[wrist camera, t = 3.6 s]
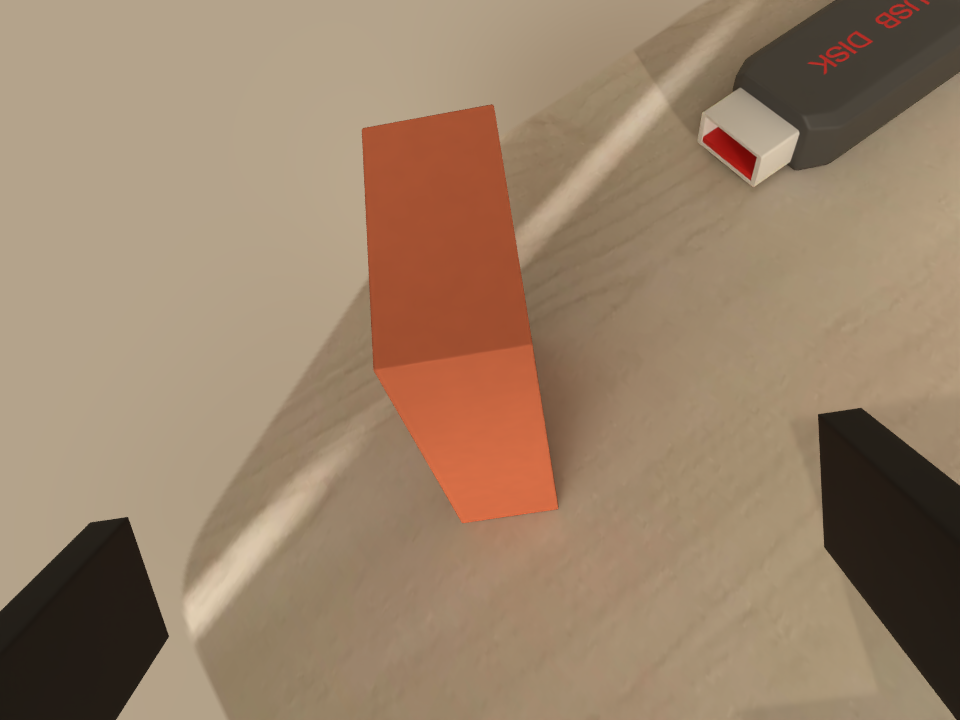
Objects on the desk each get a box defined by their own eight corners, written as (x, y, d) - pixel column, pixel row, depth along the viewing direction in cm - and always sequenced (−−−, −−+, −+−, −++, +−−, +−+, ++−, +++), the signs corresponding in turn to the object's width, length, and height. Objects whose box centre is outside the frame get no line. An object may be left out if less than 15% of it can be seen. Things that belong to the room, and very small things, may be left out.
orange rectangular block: (461, 523, 27) (372, 371, 16) (444, 349, 30) (360, 127, 19) (558, 509, 27) (532, 345, 16) (530, 335, 30) (493, 103, 19)
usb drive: (978, 58, 33) (1009, 3, 31) (770, 205, 31) (784, 159, 29) (881, -1, 35) (902, -57, 33) (681, 133, 33) (688, 84, 31)
